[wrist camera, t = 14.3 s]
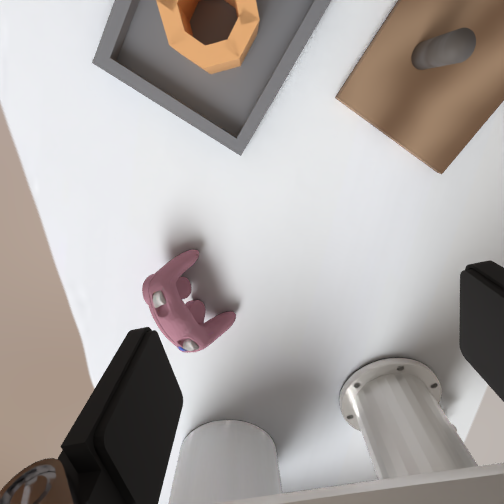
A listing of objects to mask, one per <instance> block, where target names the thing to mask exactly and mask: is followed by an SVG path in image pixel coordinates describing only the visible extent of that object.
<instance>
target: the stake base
mask: <svg viewBox="0 0 504 504" xmlns="http://www.w3.org/2000/svg"><path fill="white" fill-rule="evenodd" d="M335 98H336V99H337V100H339V101H340V102H341V103H343V104H344V105H346V106H347V107H348V108H350V109H351V110H352V111H354V112H355V113H356V114H358V115H359V116H361V117H362V118H363V119H365V120H366V121H367V122H369V123H370V124H372V125H373V126H374V127H376V128H377V129H378V130H380V131H381V132H383V133H384V134H385V135H387V136H388V137H389V138H391V139H392V140H393V141H395V142H396V143H398V144H399V145H400V146H402V147H403V148H404V149H406V150H407V151H409V152H410V153H411V154H413V155H414V156H415V157H417V158H418V159H419V160H421V161H422V162H424V163H425V164H426V165H428V166H429V167H430V168H432V169H433V170H435V171H436V172H437V173H440V174H442V173H443V172H444V171H445V170H446V169H447V167H448V166H449V165H450V164H451V163H452V161H453V160H454V159H455V158H456V157H457V155H458V154H459V153H460V152H461V151H462V149H463V148H464V147H465V146H466V145H467V143H468V142H469V141H470V140H471V139H472V138H473V136H474V135H475V134H476V133H477V132H478V130H479V129H480V128H481V127H482V126H483V124H484V123H485V122H486V121H487V120H488V118H489V117H490V116H491V115H492V114H493V113H494V111H495V110H496V109H497V108H498V107H499V105H500V104H501V103H502V102H503V101H504V0H398V2H397V3H396V5H395V6H394V8H393V9H392V11H391V12H390V14H389V15H388V17H387V19H386V20H385V22H384V23H383V25H382V26H381V28H380V29H379V31H378V32H377V34H376V36H375V37H374V39H373V40H372V42H371V43H370V45H369V46H368V48H367V49H366V51H365V52H364V54H363V56H362V57H361V59H360V60H359V62H358V63H357V65H356V66H355V68H354V69H353V71H352V73H351V74H350V76H349V77H348V79H347V80H346V82H345V83H344V85H343V86H342V88H341V89H340V91H339V93H338V94H337V96H336V97H335Z"/></svg>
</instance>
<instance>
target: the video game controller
mask: <svg viewBox="0 0 504 504" xmlns="http://www.w3.org/2000/svg"><path fill="white" fill-rule="evenodd" d="M198 257H199V251H197V250H194V249H193V250H188V251H186V252H183V253H181V254H180V255H178V256H176V257H175V258H173V259H172V260H171V261H169V262H168V263H167V264H166V265H164V266H163V267H162V268H161V269H160V270H158V271H157V272H156V273H155V274H152V275H150V276H149V277H147V278H146V280H145V281H144V283H143V288H142V291H143V297H144V300H145V302H146V303H147V304H148V305H149V308H150V311H151V314H152V316H153V318H154V320H155V322H156V324H157V326H158V327H159V329H160V330H161V331H162V333H163V334H164V335H165V336H166V338H167V339H168V340H170V341H171V342H172V343H173V344H174V345H175V346H177V348H178V349H179V350H180V351H182V352H197V351H200V350H202V349H204V348H206V347H207V346H209V345H210V344H211V343H212V342H214V341H215V340H216V339H217V338H218V337H219V336H221V335H222V334H223V333H224V332H225V331H227V330H228V329H229V328H230V327H231V326H232V325H233V323H234V321H235V319H236V314H235V313H234V312H232V311H229V312H224V313H221V314H219V315H217V316H215V317H214V318H212V319H210V320H208V321H207V322H205V323H204V317H205V312H206V309H205V305H204V304H203V302H201V301H200V300H193V301H188V302H187V303H186V304H184V302H183V301H182V299H185V298H187V297H188V296H189V295H190V293H191V284H190V281H189V280H188V279H187V278H186V277H180V276H181V275H182V274H183V273H184V272H185V271H186V270H187V269H189V268H190V267H191V266H192V265H193V264H194V263H195V262H196V260H197V259H198Z"/></svg>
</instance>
